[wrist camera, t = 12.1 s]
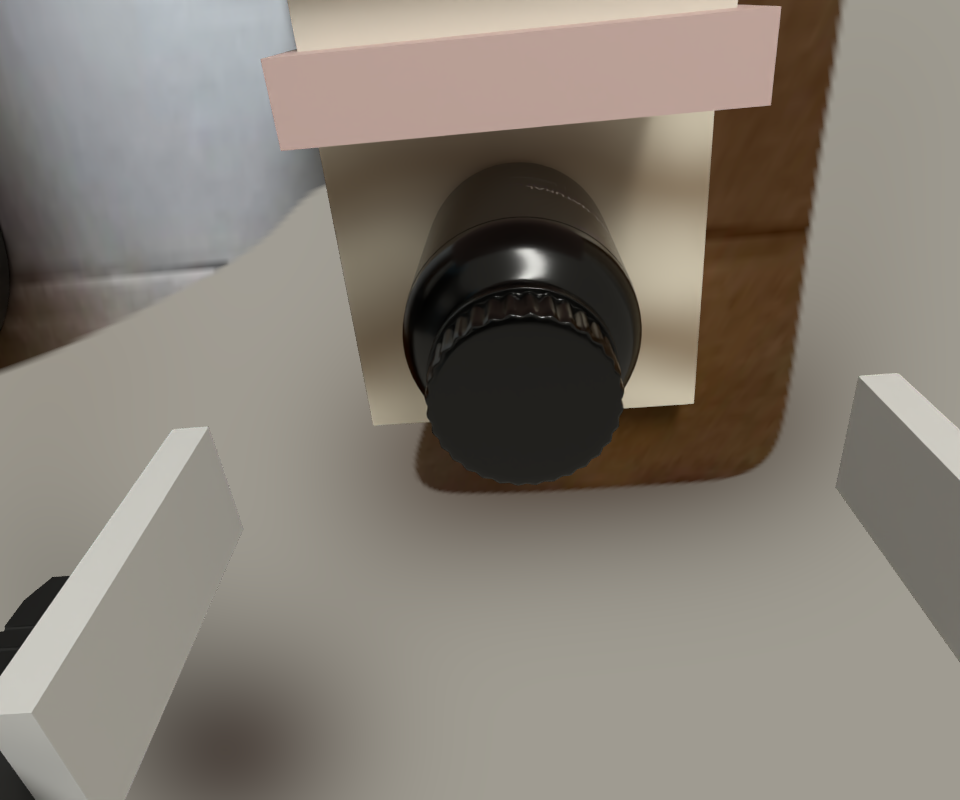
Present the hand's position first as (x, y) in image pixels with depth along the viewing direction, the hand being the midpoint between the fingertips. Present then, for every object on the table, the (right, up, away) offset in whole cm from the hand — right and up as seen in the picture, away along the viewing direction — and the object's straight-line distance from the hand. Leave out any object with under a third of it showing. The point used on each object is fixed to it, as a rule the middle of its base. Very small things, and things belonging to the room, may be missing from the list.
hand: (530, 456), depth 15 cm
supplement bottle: (0, +7, +13) cm, 14 cm away
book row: (0, +14, +8) cm, 17 cm away
